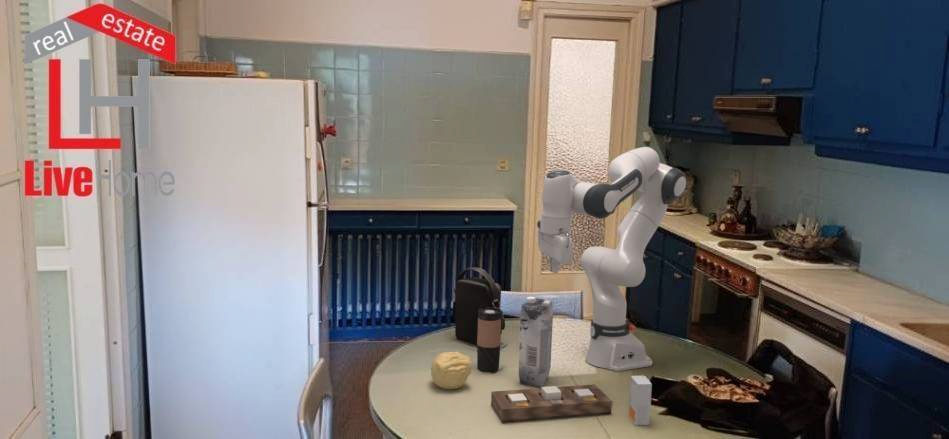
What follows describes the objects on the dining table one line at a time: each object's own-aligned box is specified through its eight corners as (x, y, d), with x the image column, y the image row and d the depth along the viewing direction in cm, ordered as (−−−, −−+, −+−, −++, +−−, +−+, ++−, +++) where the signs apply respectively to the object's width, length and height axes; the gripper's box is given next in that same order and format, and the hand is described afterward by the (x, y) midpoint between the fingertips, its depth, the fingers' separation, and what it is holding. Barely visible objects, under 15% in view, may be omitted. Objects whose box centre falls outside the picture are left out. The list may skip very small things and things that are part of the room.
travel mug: (497, 374, 219) (499, 314, 216) (474, 372, 221) (475, 312, 218) (501, 365, 227) (503, 308, 224) (478, 363, 228) (480, 306, 225)
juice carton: (551, 376, 219) (555, 295, 214) (544, 389, 209) (547, 304, 205) (524, 372, 222) (527, 292, 217) (516, 384, 212) (519, 300, 207)
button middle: (555, 395, 197) (556, 386, 196) (560, 402, 192) (561, 392, 192) (541, 396, 196) (541, 387, 195) (546, 403, 191) (546, 393, 191)
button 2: (587, 398, 199) (588, 388, 199) (593, 404, 195) (594, 394, 195) (573, 399, 198) (574, 389, 198) (579, 405, 194) (579, 395, 194)
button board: (594, 396, 204) (595, 383, 203) (611, 414, 192) (612, 399, 192) (491, 404, 197) (491, 390, 196) (502, 423, 185) (502, 408, 184)
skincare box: (627, 415, 192) (630, 375, 190) (642, 415, 192) (645, 375, 190) (634, 425, 186) (637, 384, 184) (649, 425, 186) (652, 383, 184)
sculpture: (441, 395, 202) (441, 361, 200) (425, 381, 213) (425, 348, 211) (475, 389, 207) (476, 355, 206) (457, 375, 218) (458, 343, 216)
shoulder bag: (443, 337, 254) (445, 264, 249) (459, 331, 261) (461, 260, 256) (492, 352, 240) (494, 274, 235) (507, 345, 247) (509, 270, 242)
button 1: (522, 403, 195) (522, 393, 194) (526, 409, 190) (527, 399, 190) (507, 404, 194) (507, 394, 193) (511, 411, 189) (512, 400, 189)
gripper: (579, 232, 191) (577, 280, 193) (554, 220, 210) (552, 264, 212) (558, 232, 189) (555, 281, 191) (535, 220, 209) (533, 264, 211)
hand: (554, 272), depth 202 cm, fingers closed
